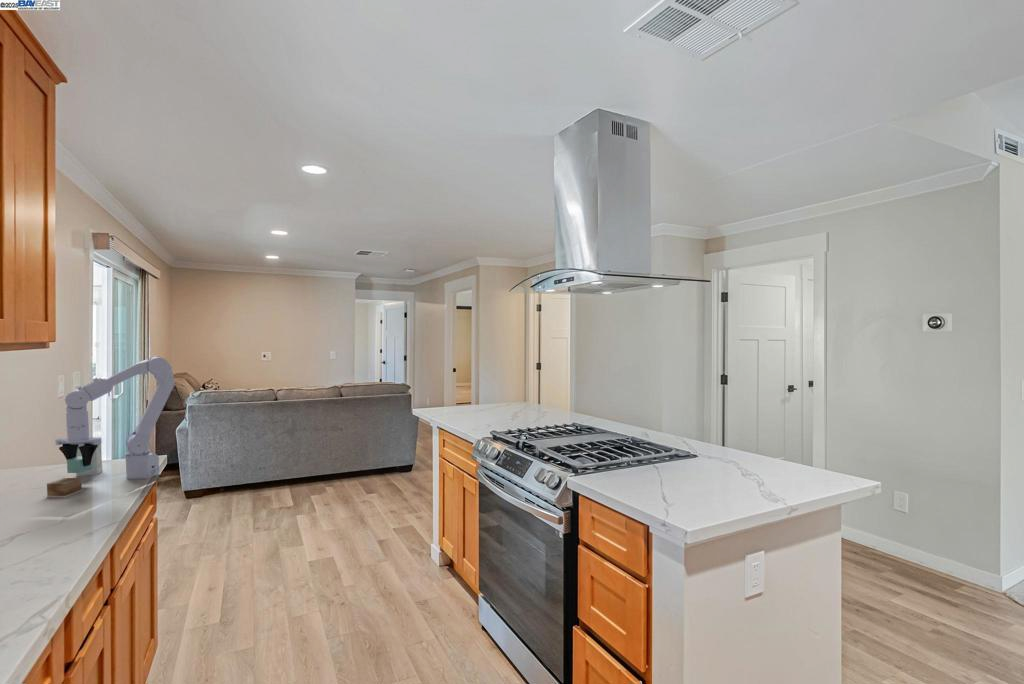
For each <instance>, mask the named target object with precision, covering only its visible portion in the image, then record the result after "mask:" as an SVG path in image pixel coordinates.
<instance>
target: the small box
mask: <svg viewBox="0 0 1024 684" xmlns="http://www.w3.org/2000/svg"><path fill="white" fill-rule="evenodd" d="M93 438H101V439H102V437H101V436H94V437H93ZM83 445H84V444H79V446H78V449H77V457H78V456H82V455H81V452H80V450H79V447H80V446H83ZM91 463H92V469H91V470H88V471H85V472H82V473H75V474H76V475H75V476H76V477H82V476H84V477H85V476H98V475H100V473H101V472H102V471H103V458H102V444H98V447H97V448H96V450H95V452H94V454H93V457H92V460H91Z"/></svg>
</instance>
